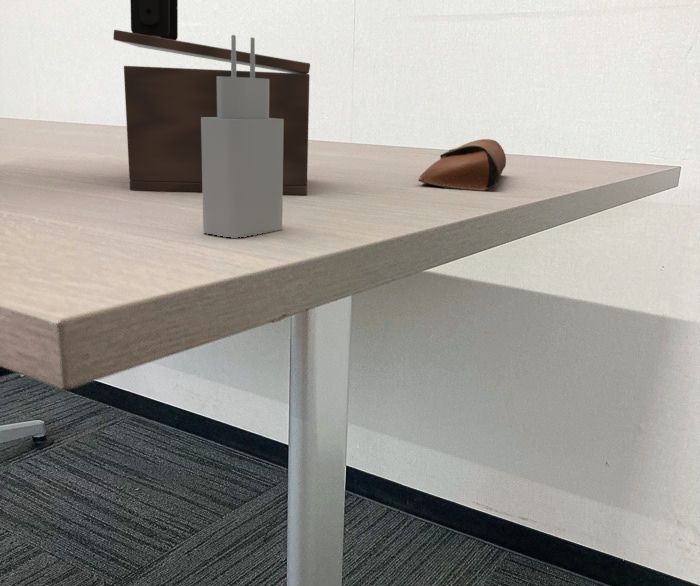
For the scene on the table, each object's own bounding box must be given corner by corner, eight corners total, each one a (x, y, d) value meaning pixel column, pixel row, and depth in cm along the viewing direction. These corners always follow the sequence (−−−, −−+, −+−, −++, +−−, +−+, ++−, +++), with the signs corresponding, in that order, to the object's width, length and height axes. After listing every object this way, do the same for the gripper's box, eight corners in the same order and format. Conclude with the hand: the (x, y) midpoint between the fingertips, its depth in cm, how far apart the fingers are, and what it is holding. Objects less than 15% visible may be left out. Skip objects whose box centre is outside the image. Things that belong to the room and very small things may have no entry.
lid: (113, 39, 64) (116, -24, 62) (139, 47, 76) (142, -6, 74) (309, 73, 66) (317, 13, 64) (304, 75, 78) (311, 24, 76)
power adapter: (286, 228, 53) (289, 39, 49) (235, 239, 48) (234, 32, 44) (250, 222, 54) (250, 39, 50) (198, 232, 50) (193, 32, 46)
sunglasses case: (435, 166, 96) (467, 119, 93) (481, 199, 96) (514, 153, 93) (415, 181, 79) (453, 125, 76) (471, 220, 79) (511, 165, 76)
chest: (129, 190, 68) (123, 65, 64) (151, 174, 80) (147, 68, 76) (306, 195, 69) (309, 73, 66) (302, 179, 81) (304, 75, 78)
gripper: (125, -170, 72) (129, 39, 77) (82, -245, 56) (91, 27, 61) (207, -161, 72) (205, 45, 78) (188, -232, 56) (187, 34, 62)
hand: (155, 35), depth 70 cm, fingers closed on lid, 5 cm apart
